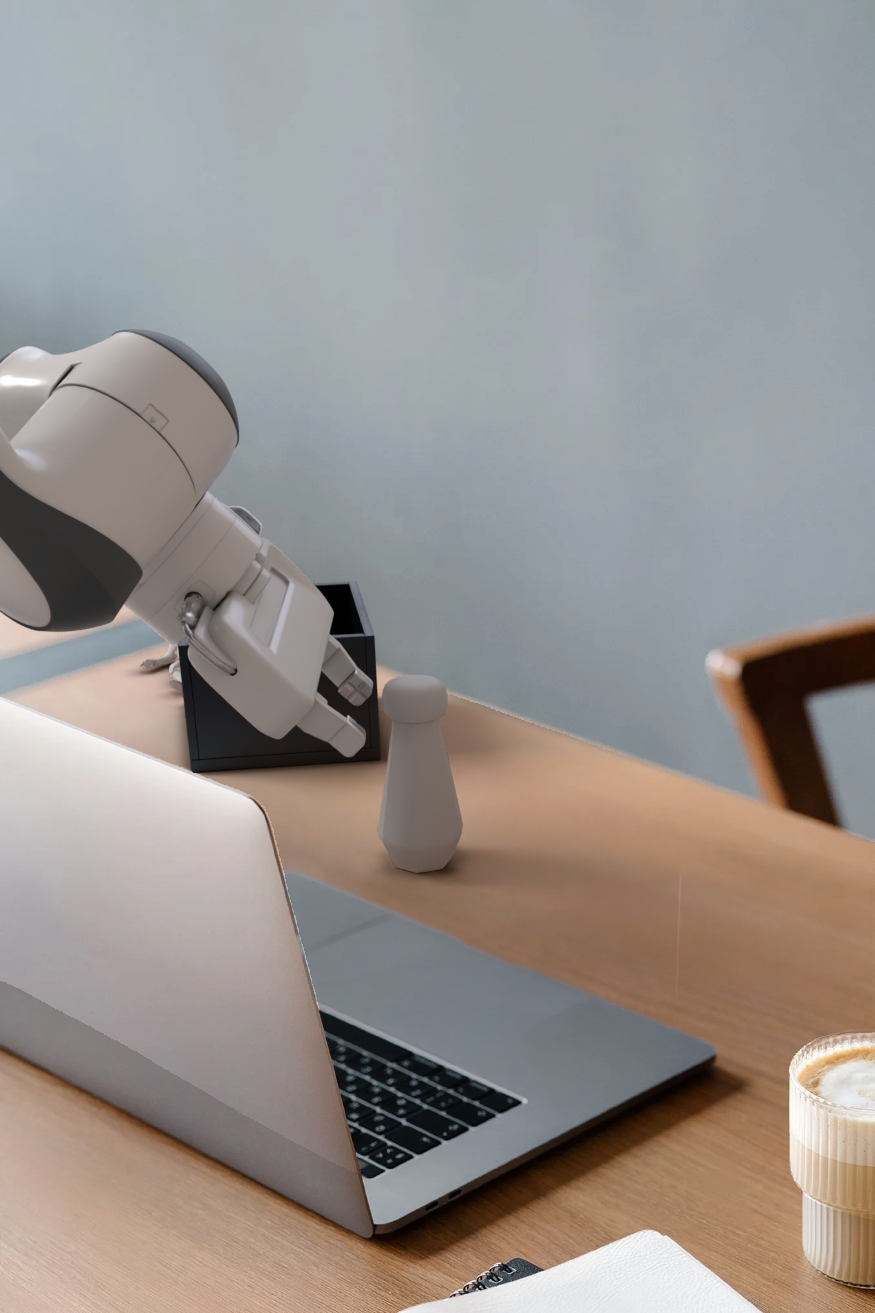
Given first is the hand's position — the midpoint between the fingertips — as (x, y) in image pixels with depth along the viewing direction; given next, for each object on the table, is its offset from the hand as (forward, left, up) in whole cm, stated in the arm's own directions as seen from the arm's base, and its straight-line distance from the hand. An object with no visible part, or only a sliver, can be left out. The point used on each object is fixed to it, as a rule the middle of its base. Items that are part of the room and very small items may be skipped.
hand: (363, 720), depth 118 cm
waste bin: (-5, +26, -10) cm, 29 cm away
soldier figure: (-12, +42, -11) cm, 45 cm away
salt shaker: (+3, 0, -11) cm, 11 cm away
